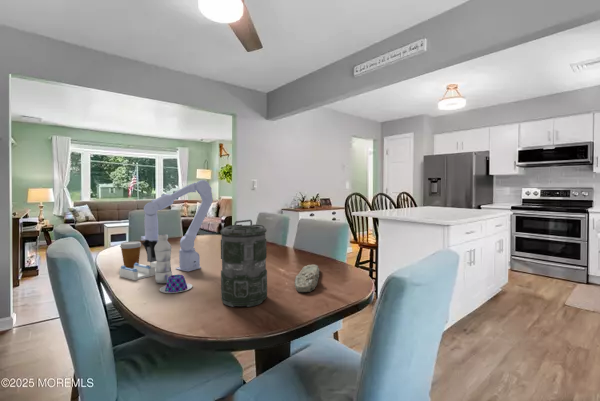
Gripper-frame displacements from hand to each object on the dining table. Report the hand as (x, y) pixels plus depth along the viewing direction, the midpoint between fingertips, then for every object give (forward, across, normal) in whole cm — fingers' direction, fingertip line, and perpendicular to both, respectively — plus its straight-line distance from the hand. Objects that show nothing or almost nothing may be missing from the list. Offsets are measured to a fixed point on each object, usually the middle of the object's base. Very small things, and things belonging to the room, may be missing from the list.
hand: (152, 256), depth 144 cm
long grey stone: (+8, +69, +27) cm, 75 cm away
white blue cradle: (+7, 0, -4) cm, 8 cm away
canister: (+8, +62, -5) cm, 63 cm away
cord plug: (+2, 0, 0) cm, 2 cm away
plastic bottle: (+7, +20, -8) cm, 23 cm away
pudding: (+8, +31, -10) cm, 33 cm away
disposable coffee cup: (+7, -19, 0) cm, 20 cm away
